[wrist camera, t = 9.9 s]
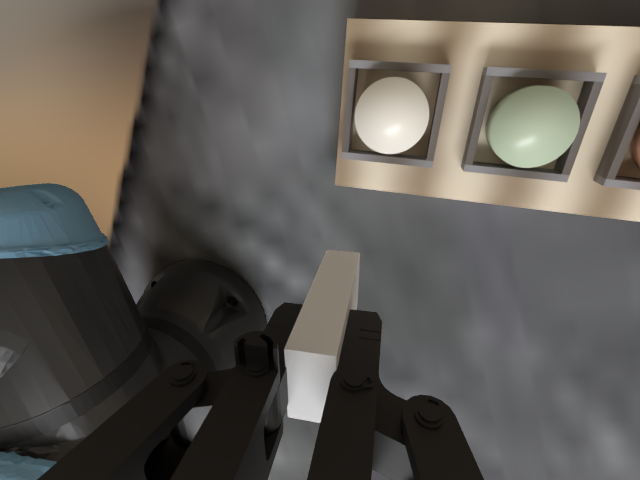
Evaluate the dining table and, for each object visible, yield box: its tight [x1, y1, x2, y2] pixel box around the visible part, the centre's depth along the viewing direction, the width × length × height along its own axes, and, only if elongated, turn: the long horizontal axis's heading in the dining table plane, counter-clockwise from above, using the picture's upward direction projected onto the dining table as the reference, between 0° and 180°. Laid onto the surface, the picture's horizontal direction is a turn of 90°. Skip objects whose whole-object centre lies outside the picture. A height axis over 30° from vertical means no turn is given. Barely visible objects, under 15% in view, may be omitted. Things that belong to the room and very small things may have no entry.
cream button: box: [355, 77, 429, 154], centre depth 25 cm, size 5×5×2 cm
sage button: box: [485, 85, 580, 168], centre depth 23 cm, size 5×5×2 cm
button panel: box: [335, 18, 640, 222], centre depth 25 cm, size 26×12×4 cm, turn 87°
